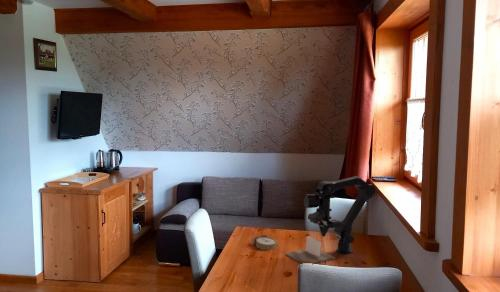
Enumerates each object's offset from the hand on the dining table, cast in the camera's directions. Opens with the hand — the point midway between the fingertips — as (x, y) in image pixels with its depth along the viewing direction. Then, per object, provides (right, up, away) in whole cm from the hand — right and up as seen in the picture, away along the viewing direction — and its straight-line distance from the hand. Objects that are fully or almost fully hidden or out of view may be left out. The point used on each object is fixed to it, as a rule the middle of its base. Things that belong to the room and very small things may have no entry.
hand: (323, 236), depth 198 cm
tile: (-5, -4, -3) cm, 7 cm away
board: (-8, -9, -4) cm, 13 cm away
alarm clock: (-30, -8, +12) cm, 33 cm away
